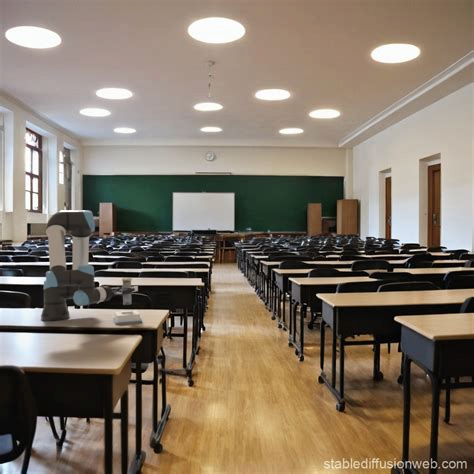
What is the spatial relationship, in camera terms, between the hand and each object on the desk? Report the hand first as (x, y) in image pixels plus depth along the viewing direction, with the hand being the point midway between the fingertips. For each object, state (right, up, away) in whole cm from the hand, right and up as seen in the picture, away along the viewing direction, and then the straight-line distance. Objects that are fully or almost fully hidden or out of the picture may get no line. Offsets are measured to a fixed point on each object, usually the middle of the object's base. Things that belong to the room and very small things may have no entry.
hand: (133, 288), depth 246 cm
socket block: (-2, -18, -4) cm, 18 cm away
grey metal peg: (-3, -8, -4) cm, 10 cm away
